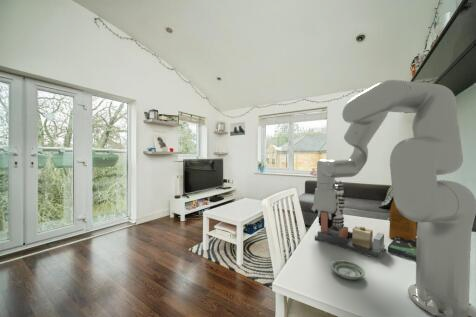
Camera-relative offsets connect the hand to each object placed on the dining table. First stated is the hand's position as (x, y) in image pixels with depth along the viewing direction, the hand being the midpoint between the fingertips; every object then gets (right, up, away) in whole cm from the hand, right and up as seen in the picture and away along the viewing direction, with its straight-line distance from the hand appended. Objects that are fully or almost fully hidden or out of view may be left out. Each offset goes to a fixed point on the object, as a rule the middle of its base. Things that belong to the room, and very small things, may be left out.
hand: (325, 225), depth 92 cm
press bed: (+7, -5, -7) cm, 11 cm away
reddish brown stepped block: (+2, -3, -2) cm, 5 cm away
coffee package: (+35, -5, -1) cm, 36 cm away
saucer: (-6, -6, -28) cm, 30 cm away
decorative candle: (+8, -5, +8) cm, 13 cm away
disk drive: (+27, -6, -13) cm, 31 cm away
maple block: (+10, -4, -11) cm, 15 cm away
